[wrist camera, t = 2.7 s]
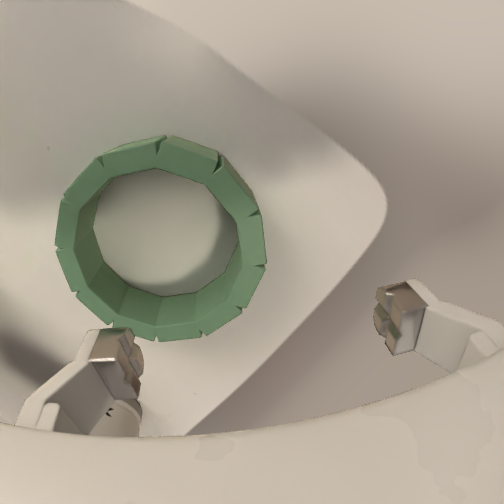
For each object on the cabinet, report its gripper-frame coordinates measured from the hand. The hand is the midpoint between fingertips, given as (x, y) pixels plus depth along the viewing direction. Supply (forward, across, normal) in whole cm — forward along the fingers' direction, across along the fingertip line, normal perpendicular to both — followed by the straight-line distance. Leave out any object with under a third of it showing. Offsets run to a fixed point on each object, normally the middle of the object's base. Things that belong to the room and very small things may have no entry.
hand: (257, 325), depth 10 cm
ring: (+9, +4, 0) cm, 10 cm away
